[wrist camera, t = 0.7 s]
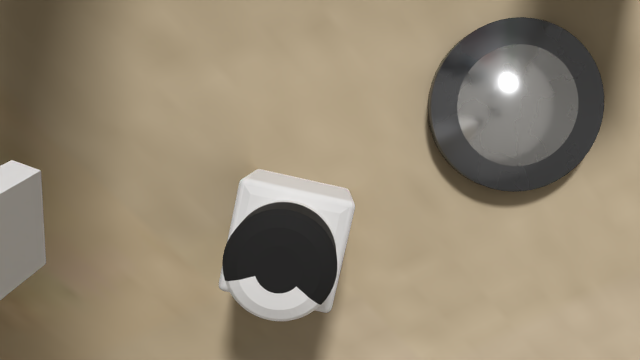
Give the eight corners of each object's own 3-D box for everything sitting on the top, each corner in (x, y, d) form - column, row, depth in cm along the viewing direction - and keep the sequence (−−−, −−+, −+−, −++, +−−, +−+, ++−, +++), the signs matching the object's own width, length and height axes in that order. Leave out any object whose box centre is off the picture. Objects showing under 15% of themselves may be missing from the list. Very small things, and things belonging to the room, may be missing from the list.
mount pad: (398, 73, 37) (401, 71, 36) (549, -11, 36) (557, -16, 35) (474, 218, 38) (479, 221, 37) (623, 139, 37) (633, 140, 36)
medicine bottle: (255, 167, 38) (223, 186, 26) (350, 188, 38) (362, 217, 26) (236, 260, 39) (196, 320, 27) (329, 281, 39) (331, 350, 27)
